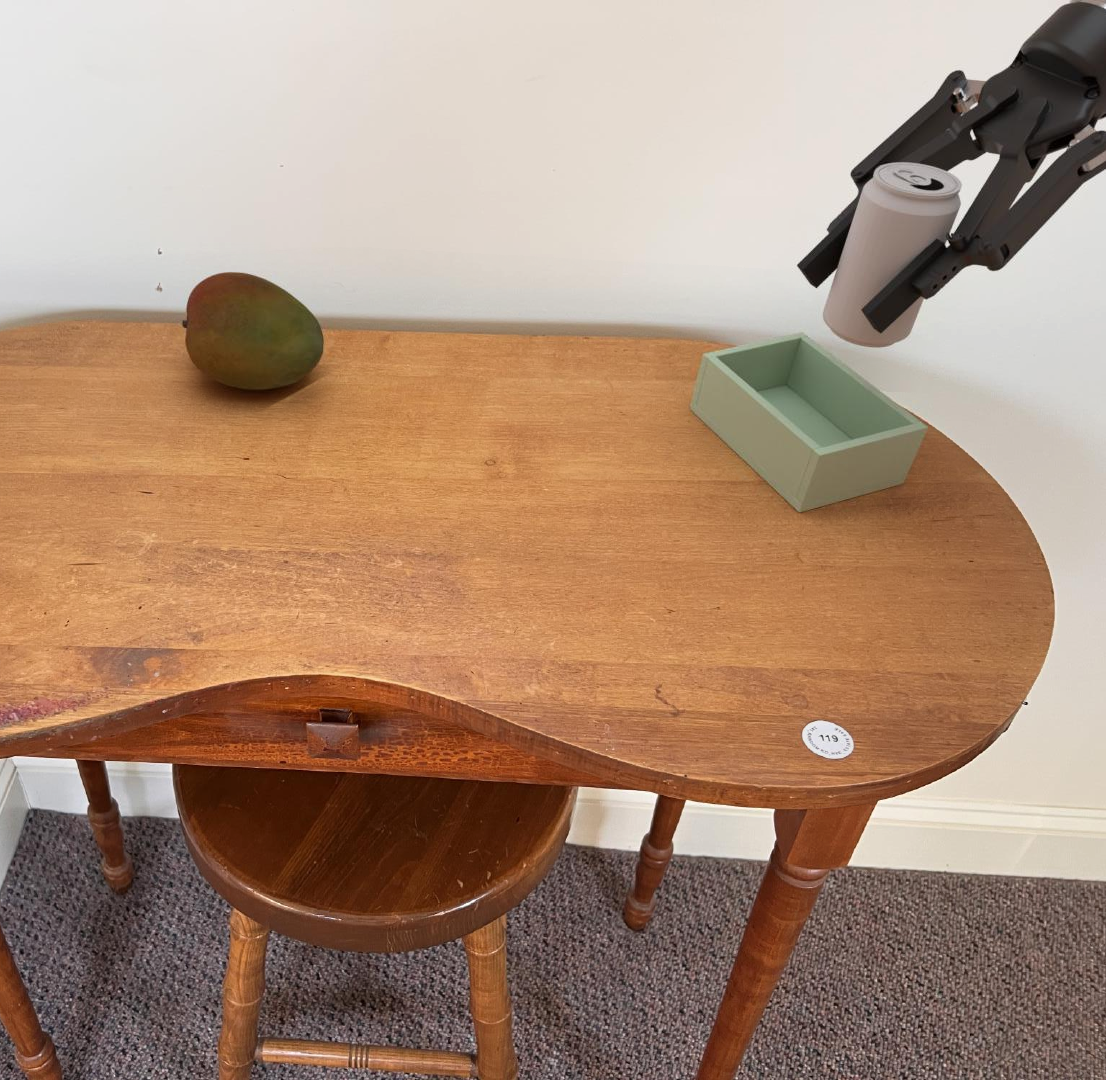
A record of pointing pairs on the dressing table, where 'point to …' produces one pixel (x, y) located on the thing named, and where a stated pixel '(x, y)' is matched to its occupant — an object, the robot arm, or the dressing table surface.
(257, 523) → the dressing table surface
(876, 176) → the beverage can
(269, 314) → the fruit
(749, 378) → the bin
